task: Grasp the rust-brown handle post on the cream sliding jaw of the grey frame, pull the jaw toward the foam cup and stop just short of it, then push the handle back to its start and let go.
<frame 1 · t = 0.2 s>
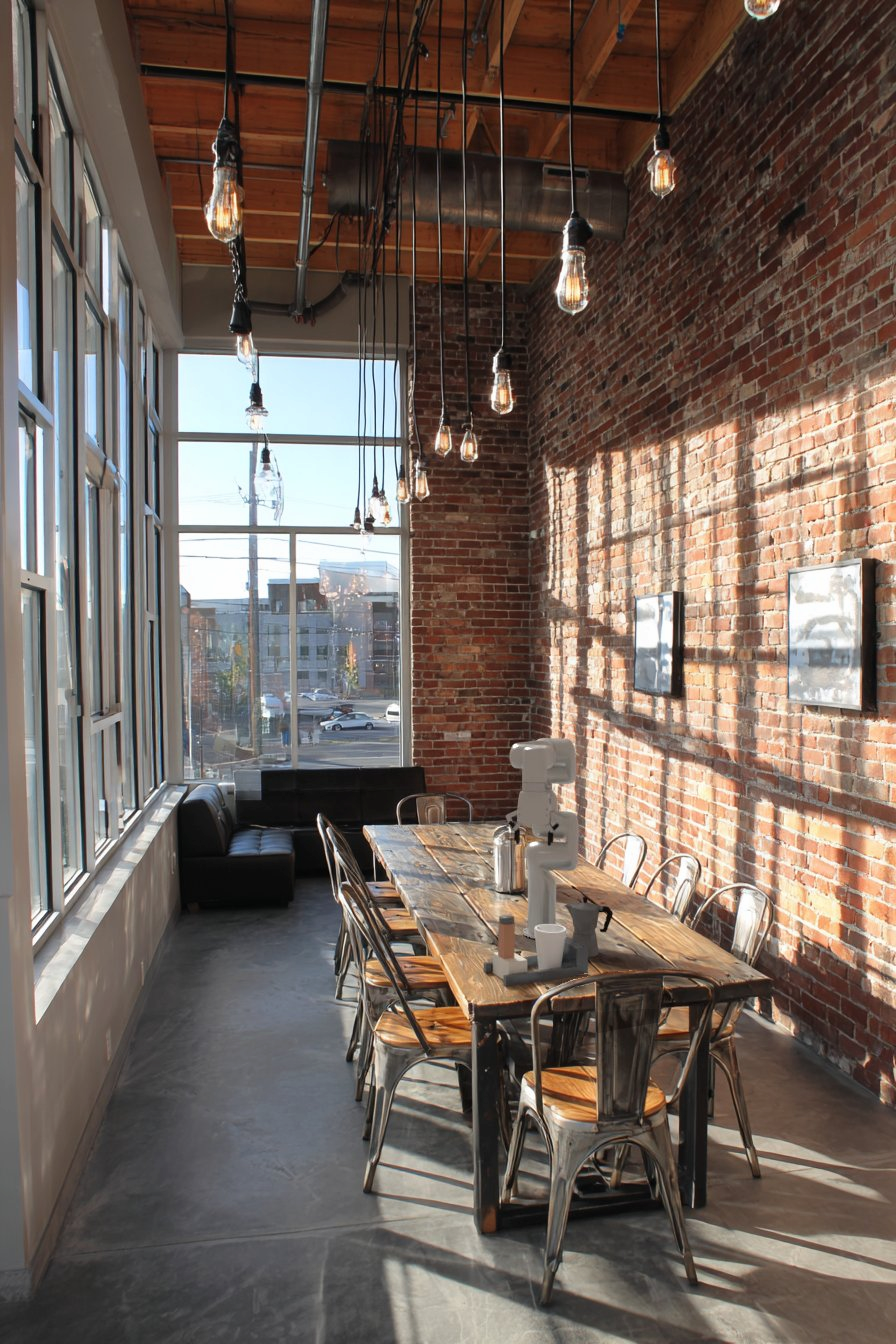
hand: (533, 844, 287), 37 cm above the table, tool pointing down, fingers open, 9 cm apart
coffeepot: (587, 954, 300), on the table
foam cup: (549, 972, 281), resting in grey frame
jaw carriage: (509, 946, 276), point 9 cm above the table, slide at 0.0 cm
grey frame: (536, 973, 279), on the table
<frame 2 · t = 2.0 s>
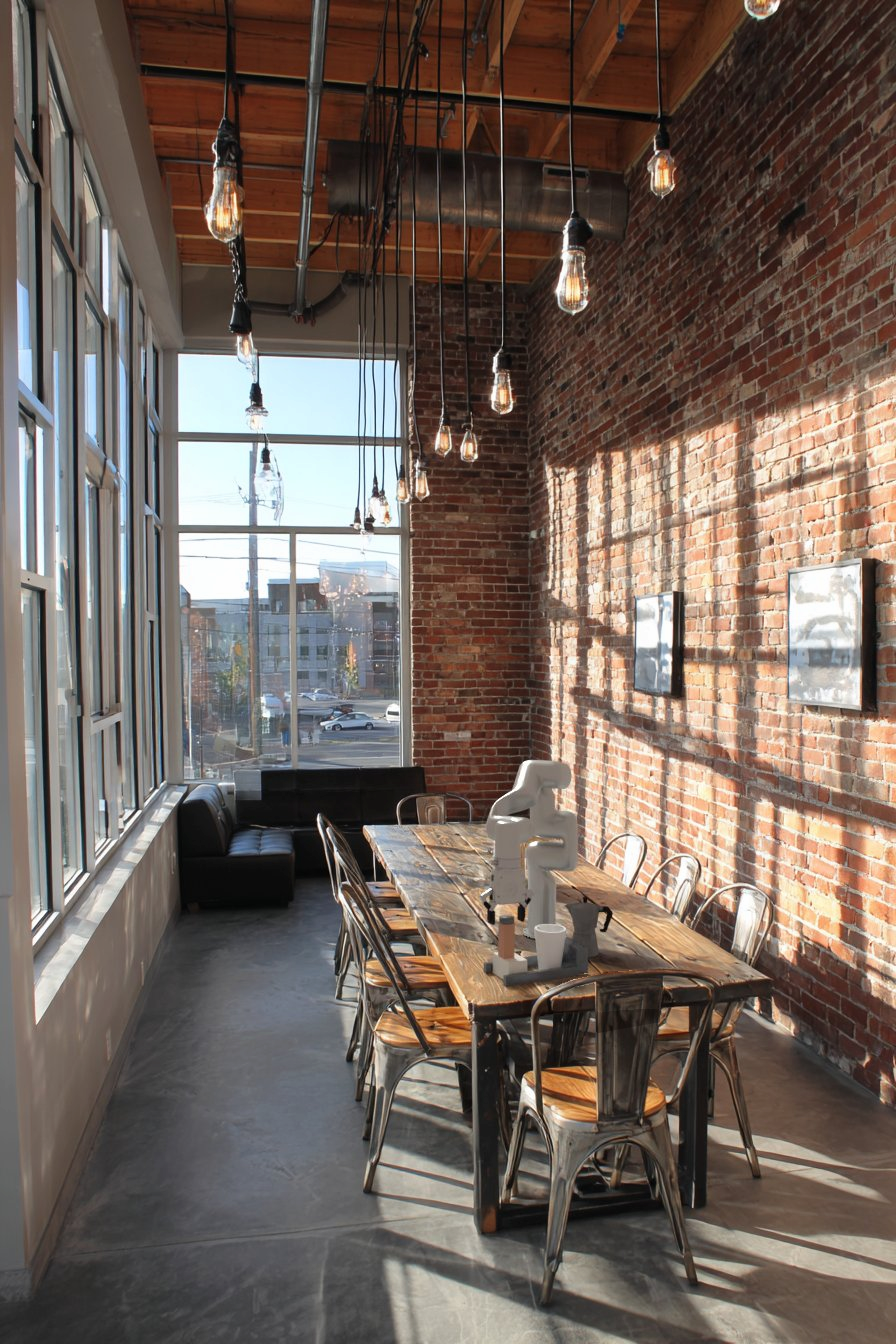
hand: (506, 922, 275), 16 cm above the table, tool pointing down, fingers open, 9 cm apart
nothing on the table moved.
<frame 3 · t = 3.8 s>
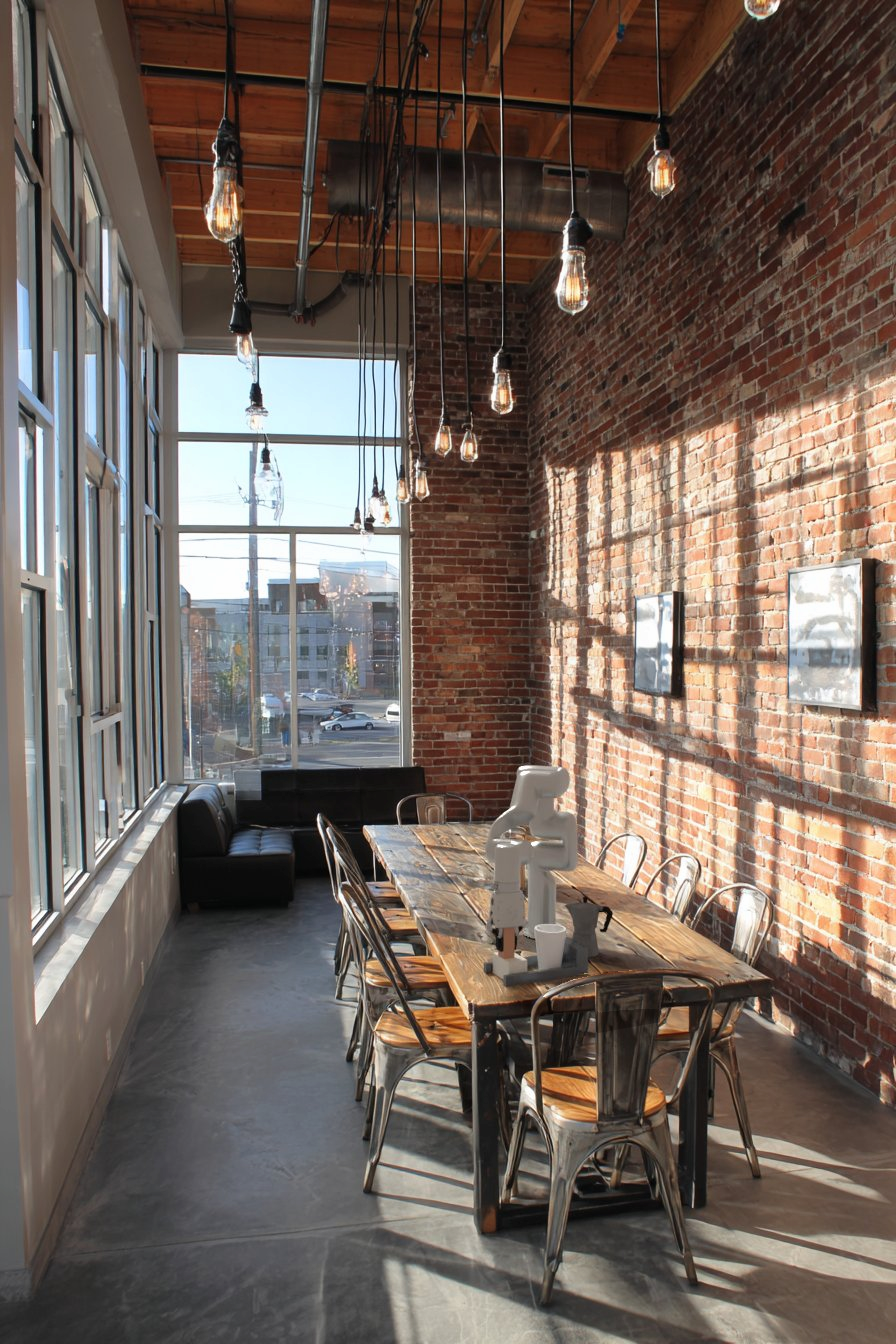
hand: (506, 949, 275), 8 cm above the table, tool pointing down, fingers closed on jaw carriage, 3 cm apart
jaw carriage: (509, 946, 276), point 9 cm above the table, slide at 0.0 cm, touching gripper
everything else where it was.
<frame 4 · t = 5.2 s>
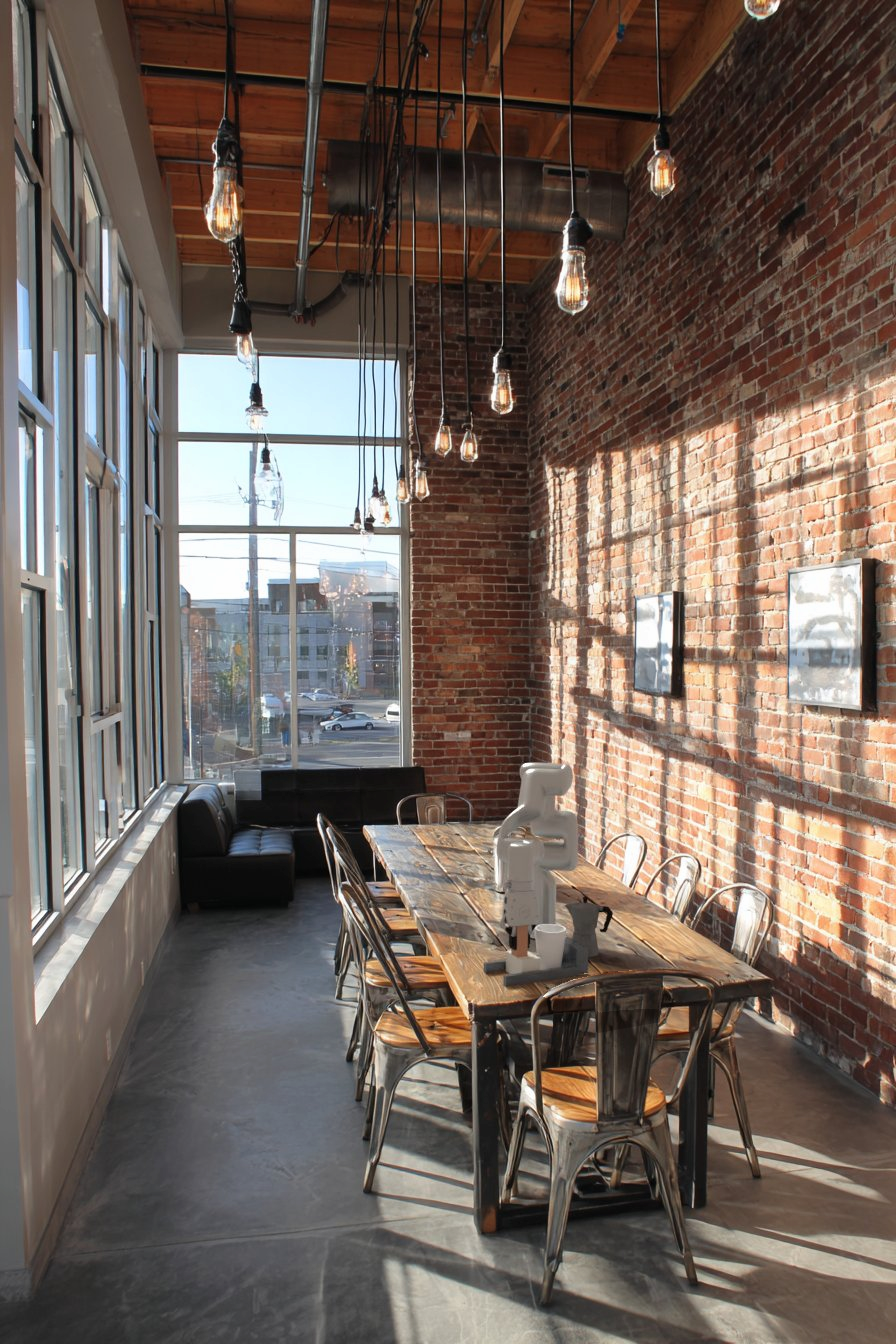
hand: (519, 947, 277), 8 cm above the table, tool pointing down, fingers closed on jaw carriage, 3 cm apart
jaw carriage: (522, 945, 277), point 9 cm above the table, slide at 4.4 cm, touching gripper
everything else where it was.
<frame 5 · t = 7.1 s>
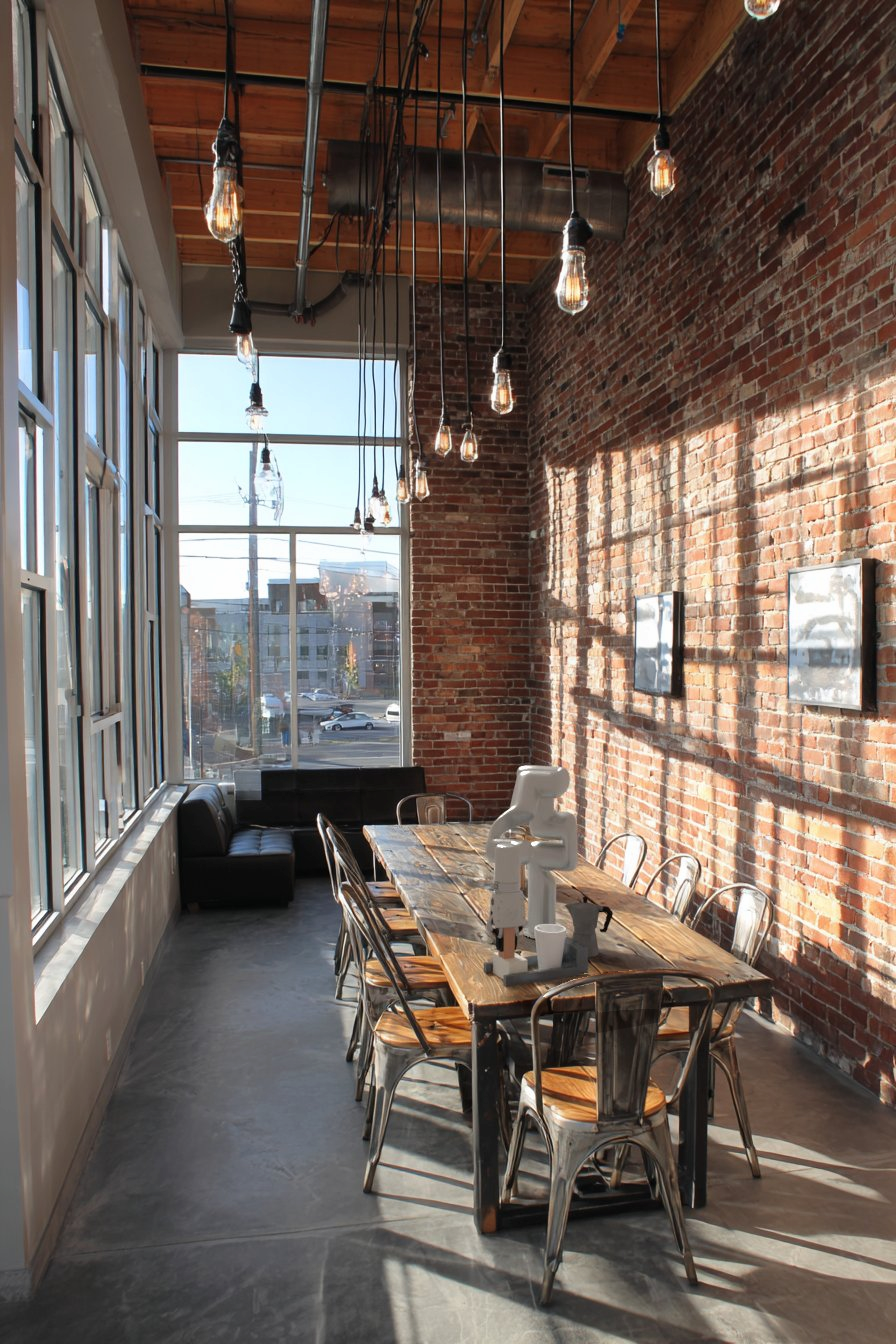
hand: (506, 949, 275), 8 cm above the table, tool pointing down, fingers closed on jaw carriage, 3 cm apart
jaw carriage: (509, 946, 276), point 9 cm above the table, slide at 0.1 cm, touching gripper
everything else where it was.
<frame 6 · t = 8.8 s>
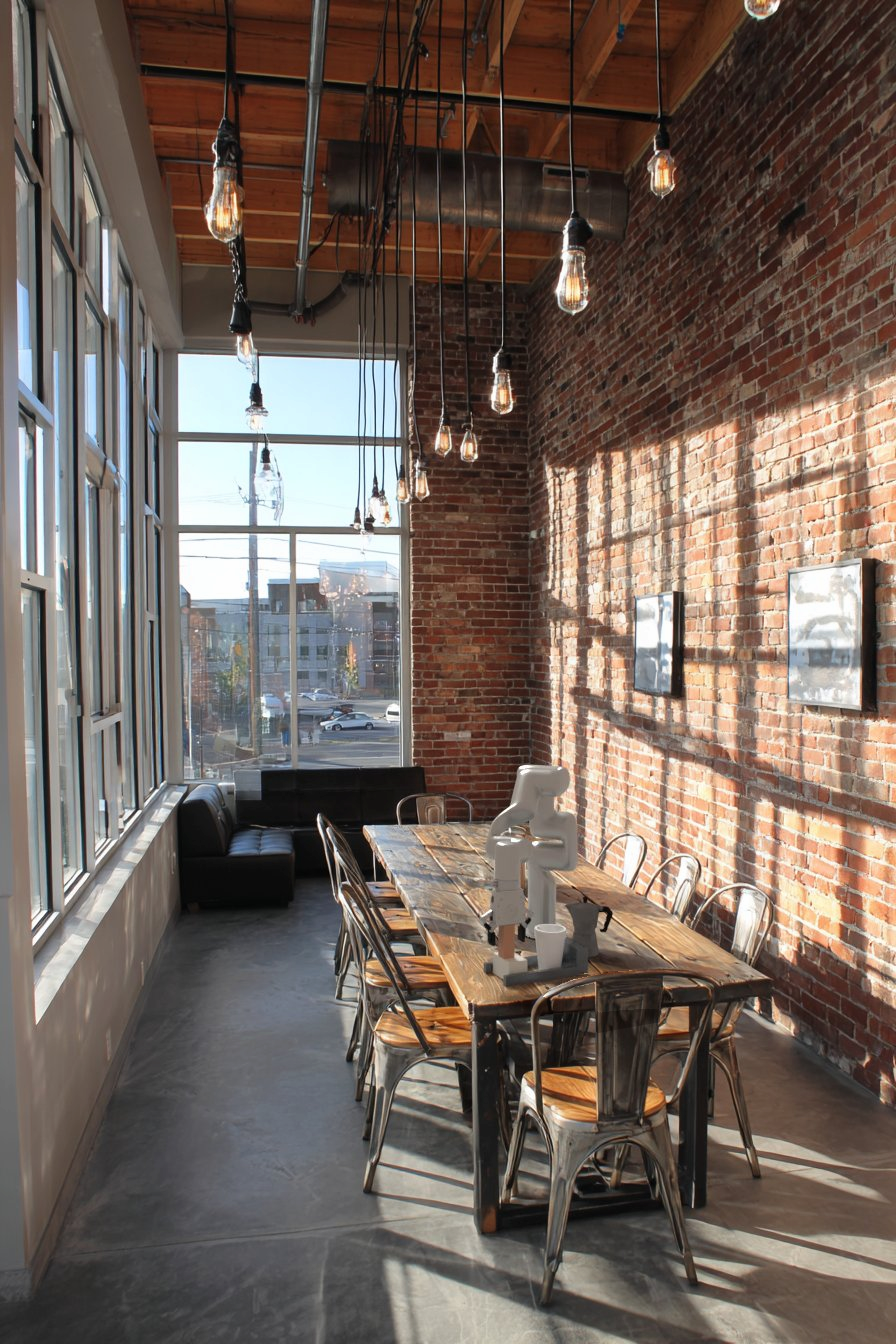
hand: (506, 942, 275), 10 cm above the table, tool pointing down, fingers open, 9 cm apart
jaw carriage: (509, 946, 276), point 9 cm above the table, slide at 0.0 cm
everything else where it was.
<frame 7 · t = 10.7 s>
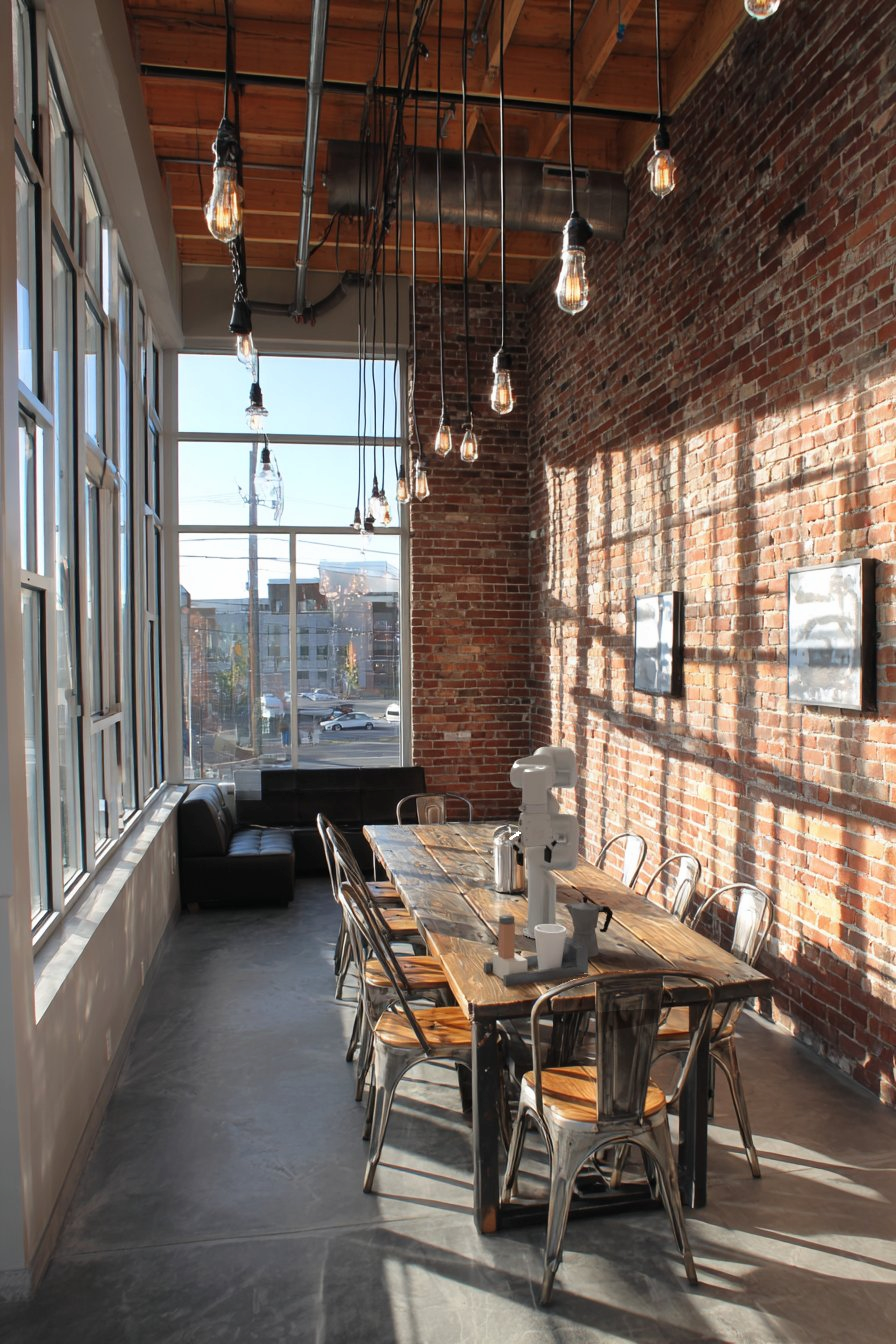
hand: (533, 863, 293), 30 cm above the table, tool pointing down, fingers open, 9 cm apart
nothing on the table moved.
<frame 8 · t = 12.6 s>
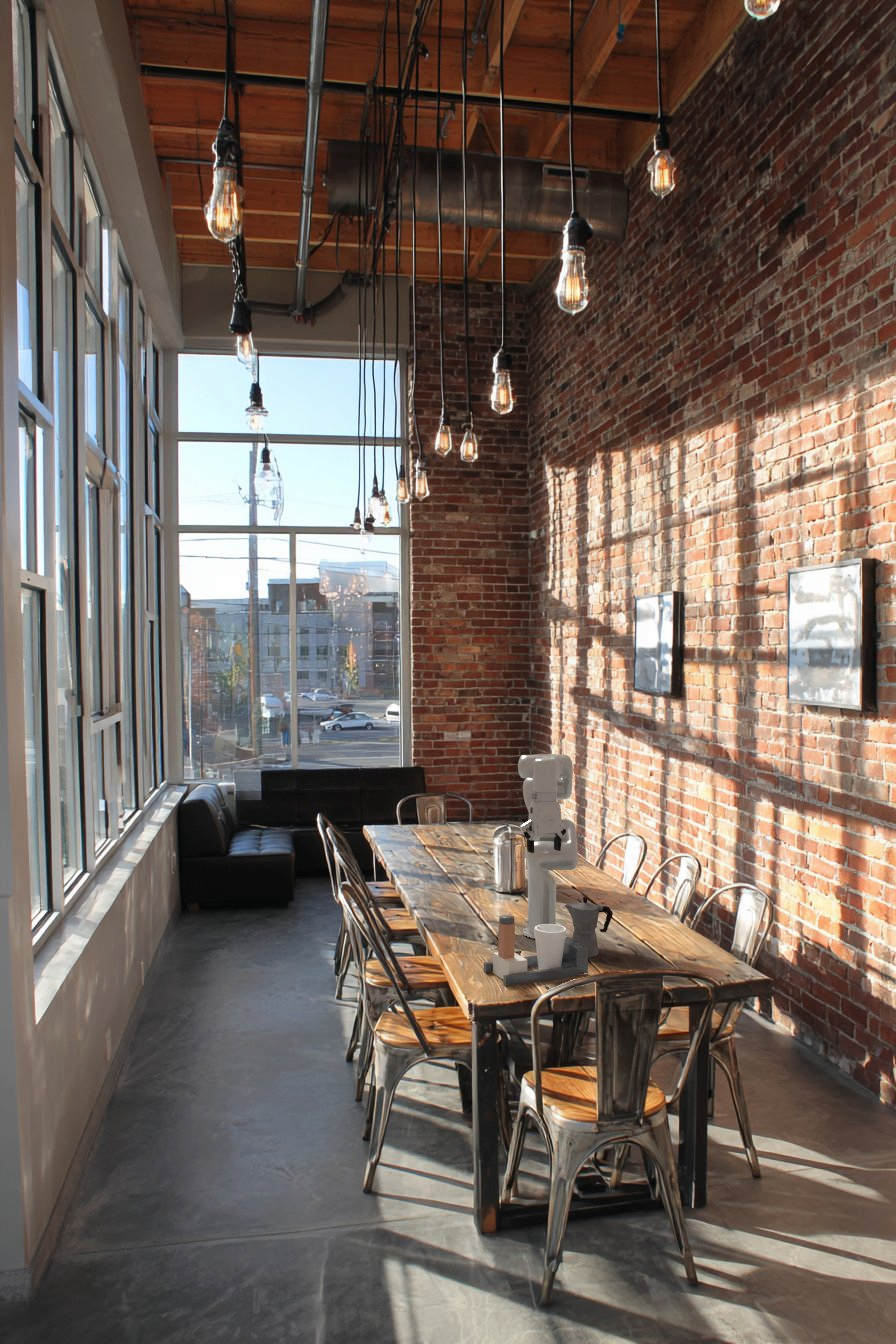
hand: (544, 851, 300), 32 cm above the table, tool pointing down, fingers open, 9 cm apart
nothing on the table moved.
at the end: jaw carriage slide at 0.0 cm; foam cup moved 0.2 cm from its start; foam cup tilted 0° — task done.
